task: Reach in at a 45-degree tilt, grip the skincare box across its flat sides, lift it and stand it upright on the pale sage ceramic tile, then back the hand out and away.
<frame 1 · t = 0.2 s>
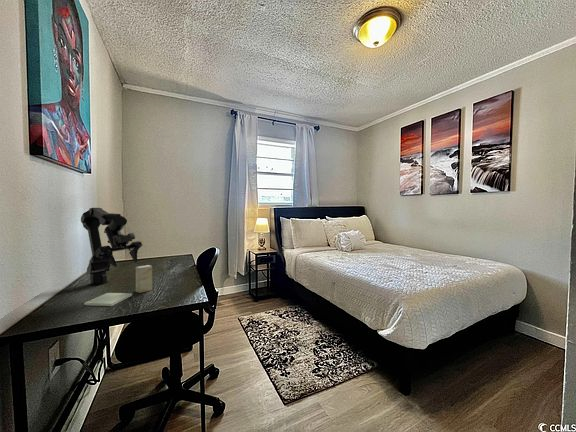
hand: (126, 264, 113), 14 cm above the table, tool tilted 35°, fingers open, 9 cm apart
skincare box: (144, 291, 118), on the table
sage tile: (109, 300, 105), on the table
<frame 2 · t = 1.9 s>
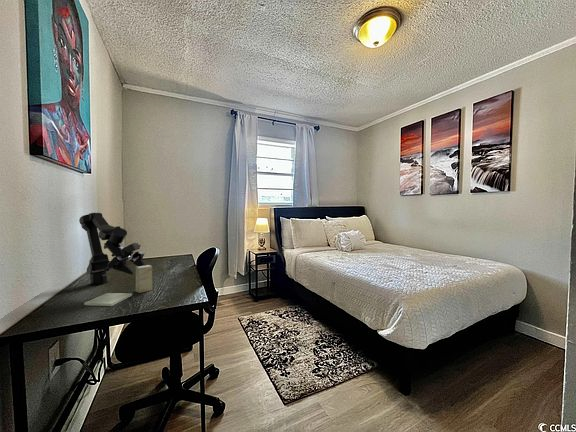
hand: (139, 271, 118), 10 cm above the table, tool tilted 45°, fingers open, 9 cm apart
nothing on the table moved.
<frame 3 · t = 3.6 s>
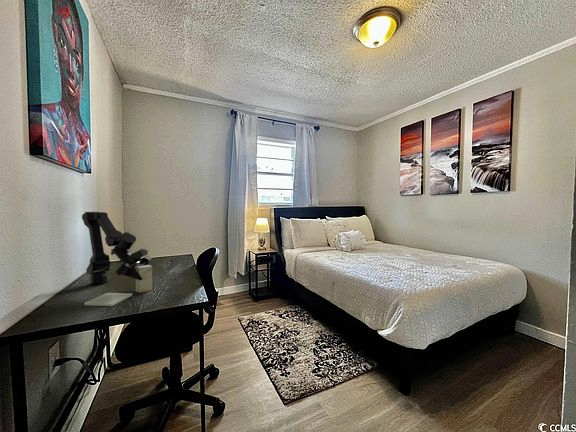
hand: (146, 277, 118), 7 cm above the table, tool tilted 45°, fingers closed on skincare box, 7 cm apart
skincare box: (144, 290, 118), on the table, touching gripper
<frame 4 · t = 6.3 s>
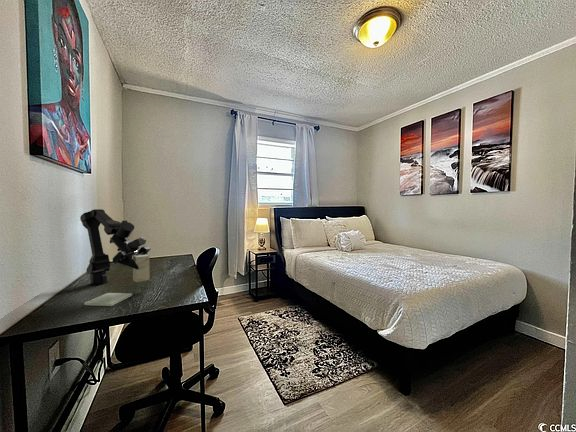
hand: (143, 266, 116), 12 cm above the table, tool tilted 45°, fingers closed on skincare box, 7 cm apart
skincare box: (141, 280, 117), point 5 cm above the table, touching gripper
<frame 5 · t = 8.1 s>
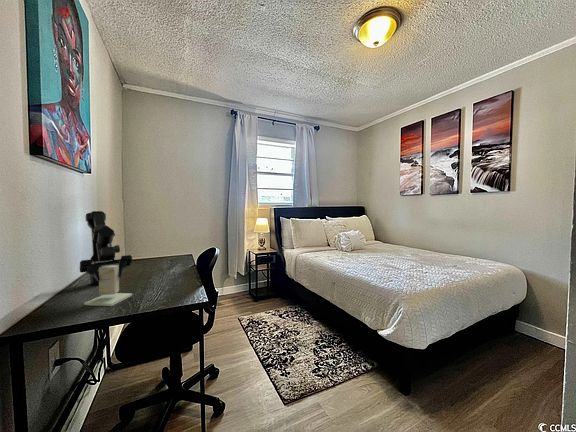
hand: (109, 279, 104), 10 cm above the table, tool tilted 45°, fingers closed on skincare box, 7 cm apart
skincare box: (109, 293, 105), point 3 cm above the table, touching gripper
when the fingers open (8 cm above the table, at t = 9.4 s): skincare box stays where it is, resting on sage tile.
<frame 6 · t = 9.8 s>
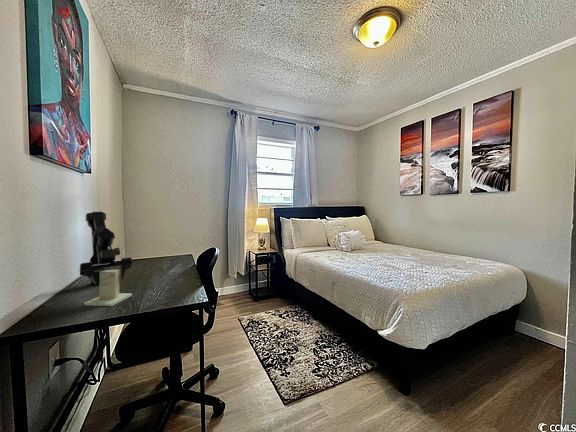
hand: (109, 281, 104), 9 cm above the table, tool tilted 45°, fingers open, 9 cm apart
skincare box: (109, 298, 106), point 1 cm above the table, touching sage tile
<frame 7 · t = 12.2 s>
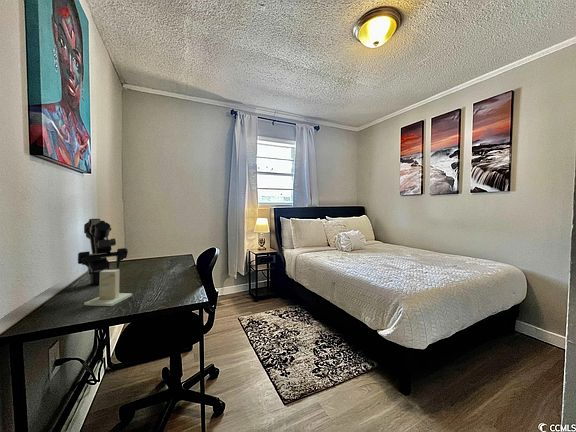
hand: (106, 269, 111), 12 cm above the table, tool tilted 45°, fingers open, 9 cm apart
nothing on the table moved.
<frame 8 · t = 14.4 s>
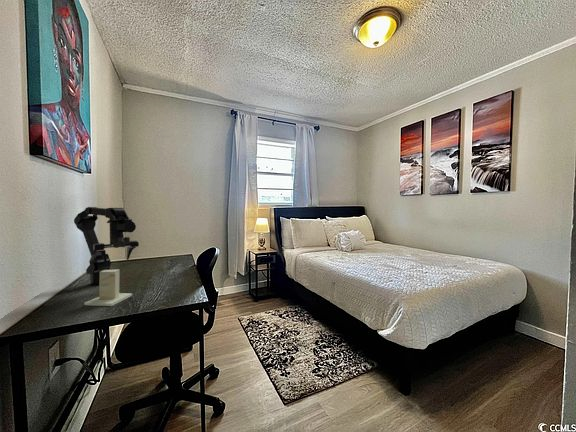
hand: (117, 261, 124), 13 cm above the table, tool pointing down, fingers open, 9 cm apart
nothing on the table moved.
at the end: skincare box inside the target area on the sage tile (0.3 cm from its centre), point 0.8 cm above the sage tile's base; skincare box tilted 0°; the gripper is holding nothing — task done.
